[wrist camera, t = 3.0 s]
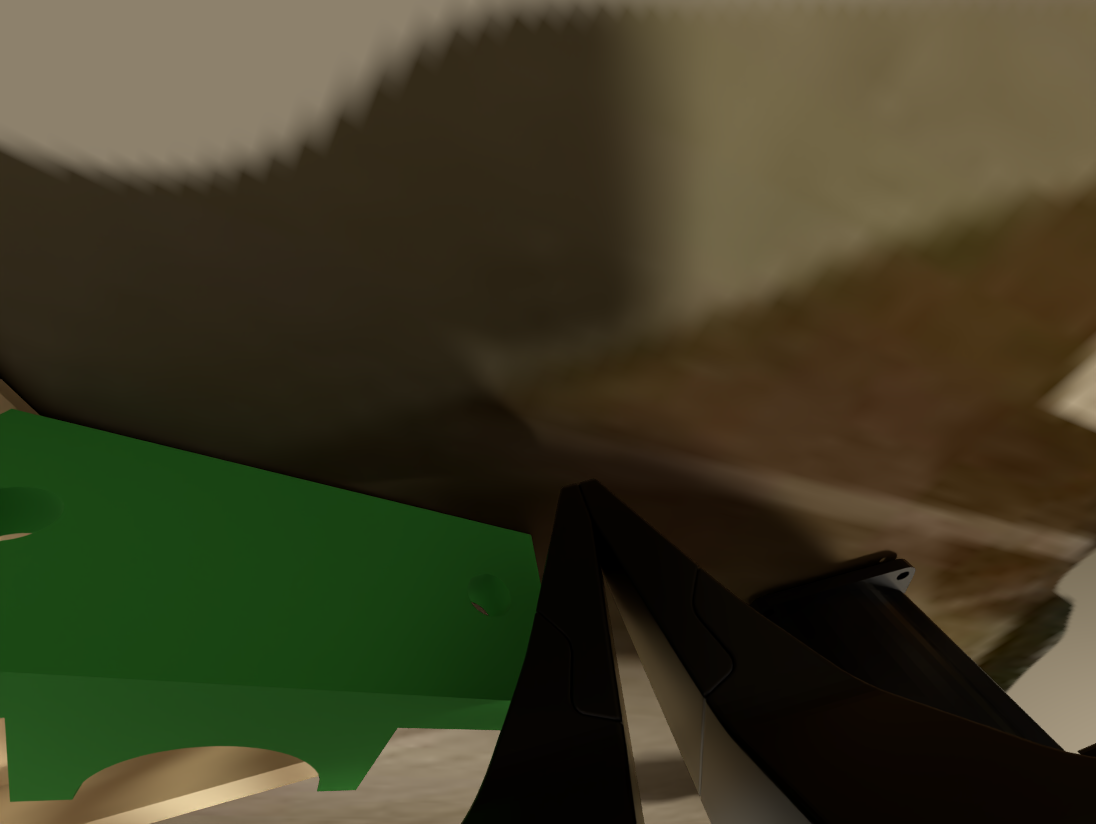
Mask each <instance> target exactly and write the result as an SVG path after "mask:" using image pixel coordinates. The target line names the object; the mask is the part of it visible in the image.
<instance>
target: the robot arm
mask: <svg viewBox="0 0 1096 824" xmlns="http://www.w3.org/2000/svg"><path fill="white" fill-rule="evenodd" d="M601 569H602V570H601ZM602 572H603V575H604V577H605V580H606V582H607V585H608V587H609V589H610V592H611V594H612V596H613V598H614V601H615V603H616V605H617V608H618V610H619V612H620V615H621V617H622V619H623V621H624V624H625V626H626V628H627V631H628V633H629V635H630V638H631V640H632V642H633V644H634V647H635V649H636V651H637V654H638V656H639V658H640V661H641V663H642V665H643V667H644V670H645V672H646V674H647V677H648V679H649V681H650V684H651V686H652V688H653V690H654V693H655V695H656V697H657V700H658V702H659V704H660V707H661V709H662V711H663V713H664V716H665V718H666V720H667V723H668V725H669V727H670V730H671V732H672V734H673V736H674V739H675V741H676V743H677V746H678V748H679V750H680V753H681V755H682V757H683V759H684V762H685V764H686V766H687V769H688V771H689V773H690V776H691V778H692V780H693V782H694V785H695V787H696V789H697V792H698V794H699V795H700V796H701V801H702V803H703V806H704V808H705V810H706V813H707V815H708V817H709V819H710V822H711V824H1096V743H1095V744H1093V745H1091V746H1088V747H1086V748H1084V749H1081V750H1079V751H1078V752H1079V753H1080V754H1081V755H1080V754H1075V753H1070V752H1066V751H1064V749H1063V748H1062V747H1061V746H1059V745H1058V744H1057V743H1056V742H1055V741H1054V740H1053V739H1052V738H1051V737H1050V736H1049V735H1048V734H1047V733H1046V732H1045V731H1044V730H1043V729H1042V728H1041V727H1040V726H1039V725H1038V724H1037V723H1036V722H1035V721H1034V720H1033V719H1032V718H1031V717H1030V716H1029V715H1028V714H1027V713H1026V712H1025V711H1024V710H1023V709H1021V707H1019V705H1018V704H1017V703H1016V702H1015V701H1013V700H1012V699H1011V698H1010V697H1009V696H1008V695H1007V694H1006V693H1005V692H1004V691H1003V690H1002V689H1001V688H1000V687H999V686H998V685H997V684H996V683H995V682H994V681H993V680H992V679H991V678H990V677H989V676H988V675H987V674H986V673H985V672H984V671H983V670H982V669H981V668H980V667H979V666H978V665H977V664H976V663H975V662H974V661H973V660H972V659H971V658H970V657H969V656H967V655H966V654H965V653H964V652H963V651H962V650H961V649H960V648H959V647H958V646H957V645H956V644H955V643H954V642H953V641H952V640H951V639H950V638H949V637H948V636H947V635H946V634H945V633H944V632H943V631H942V630H941V629H940V628H939V627H938V626H937V625H936V624H935V623H934V622H933V621H932V620H931V619H930V618H929V617H928V616H927V615H926V614H925V613H924V612H923V611H922V610H920V609H919V608H918V607H917V606H916V605H915V604H914V603H913V602H912V601H911V600H910V599H909V598H908V597H907V596H906V595H905V594H904V593H905V591H906V589H907V587H908V585H909V583H910V581H911V579H912V577H913V575H914V573H915V568H914V567H913V566H912V565H910V564H909V563H908V562H907V561H906V560H905V559H896V560H893V561H889V562H886V563H882V564H878V565H875V566H871V567H867V568H864V569H860V570H857V571H853V572H849V573H846V574H842V575H839V576H835V577H831V578H828V579H824V580H821V581H817V582H813V583H810V584H806V585H803V586H799V587H795V588H792V589H788V590H785V591H781V592H777V593H774V594H770V595H767V596H763V597H761V598H758V599H757V600H755V601H754V602H753V603H752V604H751V606H749V605H747V604H746V603H745V602H743V601H742V600H740V599H739V598H738V597H736V596H735V595H734V594H733V593H731V592H730V591H729V590H728V589H726V588H725V587H724V586H723V585H721V584H720V583H719V582H717V581H716V580H715V579H714V578H713V577H711V576H710V575H709V574H708V573H707V572H706V571H704V570H703V569H702V568H699V566H698V565H697V564H696V563H695V562H694V561H692V560H691V559H690V558H689V557H688V556H686V555H685V554H684V553H683V552H682V551H680V550H679V549H678V548H677V547H676V546H675V545H673V544H672V543H671V542H670V541H669V540H667V539H666V538H665V537H664V536H663V535H662V534H660V533H659V532H658V531H657V530H656V529H654V528H653V527H652V526H651V525H650V524H648V523H647V522H646V521H645V520H644V519H643V518H641V517H640V516H639V515H638V514H637V513H635V512H634V511H633V510H632V509H631V508H629V507H628V506H627V505H626V504H625V503H624V502H622V501H621V500H620V499H619V498H618V497H616V496H615V495H614V494H613V493H612V492H610V491H609V490H608V489H607V488H606V487H605V486H603V485H602V484H601V483H600V482H599V481H597V480H596V479H591V480H587V481H583V482H580V484H579V485H578V484H572V485H568V486H564V487H562V489H561V492H560V497H559V501H558V506H557V511H556V516H555V521H554V525H553V530H552V535H551V540H550V544H549V549H548V554H547V559H546V564H545V568H544V573H543V578H542V583H541V588H540V592H539V597H538V602H537V607H536V612H537V613H535V615H534V620H533V625H532V630H531V634H530V638H529V642H528V646H527V650H526V654H525V658H524V661H523V665H522V668H521V671H520V674H519V678H518V681H517V684H516V687H515V690H514V693H513V696H512V699H511V702H510V705H509V708H508V711H507V714H506V717H505V720H504V723H503V726H502V729H501V732H500V735H499V738H498V741H497V744H496V746H495V749H494V752H493V755H492V758H491V761H490V764H489V767H488V769H487V772H486V775H485V777H484V780H483V782H482V785H481V787H480V789H479V791H478V793H477V796H476V798H475V800H474V802H473V804H472V806H471V808H470V809H469V811H468V813H467V815H466V816H465V818H464V820H463V821H462V823H461V824H645V823H644V817H643V813H642V806H641V800H640V794H639V788H638V782H637V776H636V770H635V764H634V758H633V752H632V746H631V740H630V734H629V728H628V722H627V717H626V711H625V705H624V699H623V693H622V687H621V681H620V675H619V669H618V663H617V657H616V651H615V645H614V639H613V634H612V628H611V622H610V616H609V610H608V604H607V598H606V592H605V586H604V581H603V575H602Z"/></svg>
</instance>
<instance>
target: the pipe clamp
mask: <svg viewBox="0 0 1096 824" xmlns="http://www.w3.org/2000/svg"><path fill="white" fill-rule="evenodd" d="M18 533H32V534H29V535H26V536H23V537H19V538H14V539H9V540H2V541H0V718H5V733H6V748H7V764H8V779H9V795H10V802H22V801H51V800H73V798H74V796H75V795H76V793H77V791H78V790H79V788H80V787H81V785H82V783H83V782H84V781H85V780H86V779H88V778H89V777H91V776H92V775H94V774H96V773H97V772H99V771H101V770H103V769H105V768H107V767H110V766H112V765H115V764H117V763H120V762H123V761H126V760H129V759H132V758H136V757H140V756H143V755H148V754H153V753H157V752H163V751H169V750H175V749H183V748H194V747H210V746H236V747H250V748H259V749H266V750H272V751H276V752H281V753H284V754H288V755H291V756H293V757H296V758H298V759H300V760H302V761H304V762H306V763H308V764H309V765H310V766H312V767H313V768H314V769H315V770H316V772H317V773H318V775H319V778H320V780H319V785H318V789H317V791H340V790H356V789H357V787H358V786H359V784H360V783H361V781H362V780H363V778H364V777H365V775H366V774H367V772H368V771H369V769H370V768H371V767H372V765H373V764H374V762H375V761H376V759H377V758H378V756H379V755H380V753H381V752H382V750H383V749H384V747H385V746H386V744H387V743H388V741H389V740H390V738H391V737H392V735H393V734H394V732H395V731H396V729H397V728H433V729H473V730H501V729H502V726H503V723H504V720H505V717H506V714H507V711H508V708H509V705H510V702H511V699H512V696H513V693H514V690H515V687H516V684H517V681H518V678H519V674H520V671H521V668H522V665H523V661H524V658H525V654H526V650H527V646H528V642H529V638H530V634H531V630H532V625H533V620H534V615H535V613H537V612H536V607H537V602H538V597H539V592H540V588H541V583H540V578H539V573H538V568H537V563H536V558H535V552H534V547H533V542H532V537H531V535H529V534H525V533H521V532H517V531H513V530H509V529H505V528H501V527H497V526H492V525H488V524H484V523H480V522H476V521H472V520H468V519H464V518H459V517H455V516H451V515H447V514H443V513H439V512H435V511H431V510H427V509H422V508H418V507H414V506H410V505H406V504H402V503H398V502H394V501H390V500H385V499H381V498H377V497H373V496H369V495H365V494H361V493H357V492H352V491H348V490H344V489H340V488H336V487H332V486H328V485H324V484H320V483H315V482H311V481H307V480H303V479H299V478H295V477H291V476H287V475H282V474H278V473H274V472H270V471H266V470H262V469H258V468H254V467H250V466H245V465H241V464H237V463H233V462H229V461H225V460H221V459H217V458H212V457H208V456H204V455H200V454H196V453H192V452H188V451H184V450H180V449H175V448H171V447H167V446H163V445H159V444H155V443H151V442H147V441H143V440H138V439H134V438H130V437H126V436H122V435H118V434H114V433H110V432H105V431H101V430H97V429H93V428H89V427H85V426H81V425H77V424H73V423H68V422H64V421H60V420H56V419H52V418H48V417H44V416H40V415H35V414H31V413H27V412H23V411H19V410H15V409H10V410H8V411H6V412H4V413H2V414H0V536H4V535H9V534H18ZM471 602H473V603H476V604H478V605H479V606H481V607H482V608H483V609H484V610H485V611H486V612H487V614H488V615H489V616H487V615H485V614H483V613H481V612H480V611H478V610H477V609H476V608H475V607H474V606H473V604H472V603H471Z"/></svg>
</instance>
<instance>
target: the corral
mask: <svg viewBox="0 0 1096 824" xmlns="http://www.w3.org/2000/svg"><path fill="white" fill-rule="evenodd" d="M10 409H15V410H19V411H23V412H27V413H31V414H35V415H39V414H38V413H37V412H36V411H35V410H34V409H32V408H31V407H30V406H29V405H28V404H27V403H26V402H25V401H24V400H23V399H22V398H21V397H20V396H19V395H18V394H16V393H15V392H14V391H13V390H12V389H11V388H10V387H9V386H8V385H7V384H6V383H5V382H4V381H3V380H2V379H0V414H2V413H4V412H6V411H8V410H10ZM29 534H32V533H18V534H9V535H4V536H0V541H2V540H9V539H14V538H19V537H23V536H26V535H29ZM316 776H319V775H318V773H317V772H316V770H315V769H314V768H313V767H312V766H310V765H309V764H308V763H306V762H304V761H302V760H300V759H298V758H296V757H293V756H291V755H288V754H284V753H281V752H276V751H272V750H266V749H259V748H250V747H236V746H210V747H194V748H183V749H175V750H169V751H163V752H157V753H153V754H148V755H143V756H140V757H136V758H132V759H129V760H126V761H123V762H120V763H117V764H115V765H112V766H110V767H107V768H105V769H103V770H101V771H99V772H97V773H96V774H94V775H92V776H91V777H89V778H88V779H86V780H85V781H84V782H83V783H82V785H81V787H80V788H79V790H78V791H77V793H76V795H75V796H74V798H73V800H51V801H22V802H10V795H9V779H8V764H7V748H6V733H5V718H0V824H150V823H153V822H157V821H160V820H164V819H168V818H171V817H175V816H178V815H182V814H185V813H189V812H192V811H196V810H199V809H203V808H206V807H210V806H214V805H217V804H221V803H224V802H228V801H231V800H235V799H238V798H242V797H245V796H249V795H252V794H256V793H260V792H263V791H267V790H270V789H274V788H277V787H281V786H284V785H288V784H291V783H295V782H298V781H302V780H306V779H309V778H313V777H316Z"/></svg>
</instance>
